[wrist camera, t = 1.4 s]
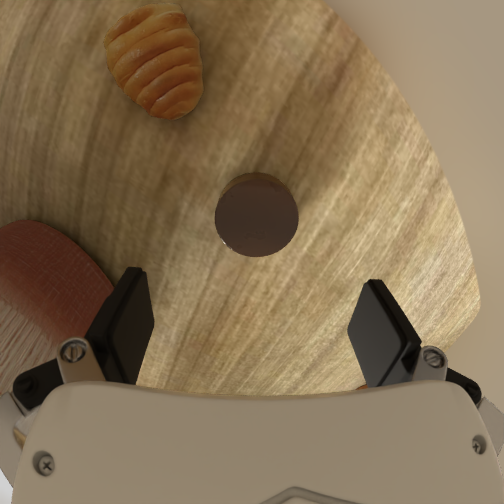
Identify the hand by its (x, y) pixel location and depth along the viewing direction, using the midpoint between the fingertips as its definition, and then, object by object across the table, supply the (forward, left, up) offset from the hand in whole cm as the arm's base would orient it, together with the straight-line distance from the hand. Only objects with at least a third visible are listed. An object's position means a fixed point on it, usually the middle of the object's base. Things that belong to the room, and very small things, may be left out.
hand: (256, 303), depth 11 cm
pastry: (-12, -8, -12) cm, 18 cm away
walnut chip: (0, 0, -12) cm, 12 cm away
